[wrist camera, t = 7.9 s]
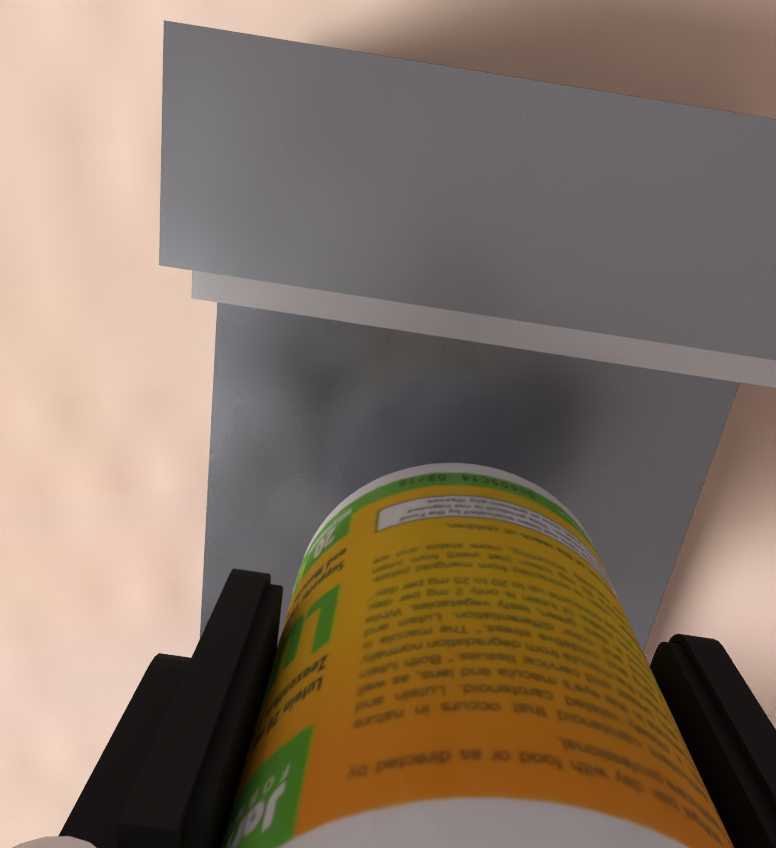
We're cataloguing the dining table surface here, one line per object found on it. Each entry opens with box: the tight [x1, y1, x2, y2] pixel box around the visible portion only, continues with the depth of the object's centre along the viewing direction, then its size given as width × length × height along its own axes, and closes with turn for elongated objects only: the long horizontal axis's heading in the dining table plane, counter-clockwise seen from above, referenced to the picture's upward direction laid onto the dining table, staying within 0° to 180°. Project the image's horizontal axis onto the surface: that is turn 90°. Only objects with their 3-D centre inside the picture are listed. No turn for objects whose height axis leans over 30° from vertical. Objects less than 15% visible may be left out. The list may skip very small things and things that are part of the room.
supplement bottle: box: [220, 463, 734, 848], centre depth 8 cm, size 5×5×10 cm
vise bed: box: [159, 21, 776, 651], centre depth 13 cm, size 18×10×6 cm, turn 172°
